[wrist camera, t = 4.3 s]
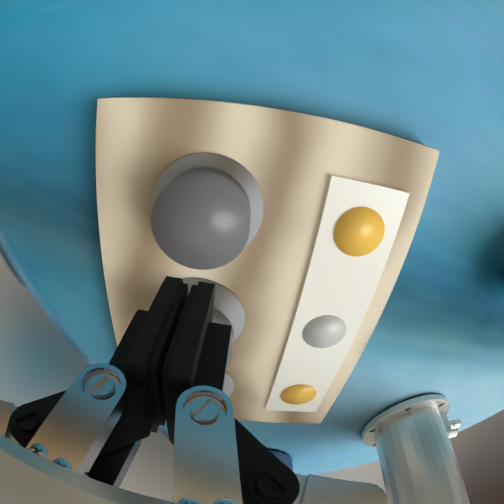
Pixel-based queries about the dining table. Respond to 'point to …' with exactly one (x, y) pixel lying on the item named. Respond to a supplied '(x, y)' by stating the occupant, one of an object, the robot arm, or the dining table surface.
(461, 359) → the dining table surface
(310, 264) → the pattern card
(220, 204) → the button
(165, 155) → the button board
